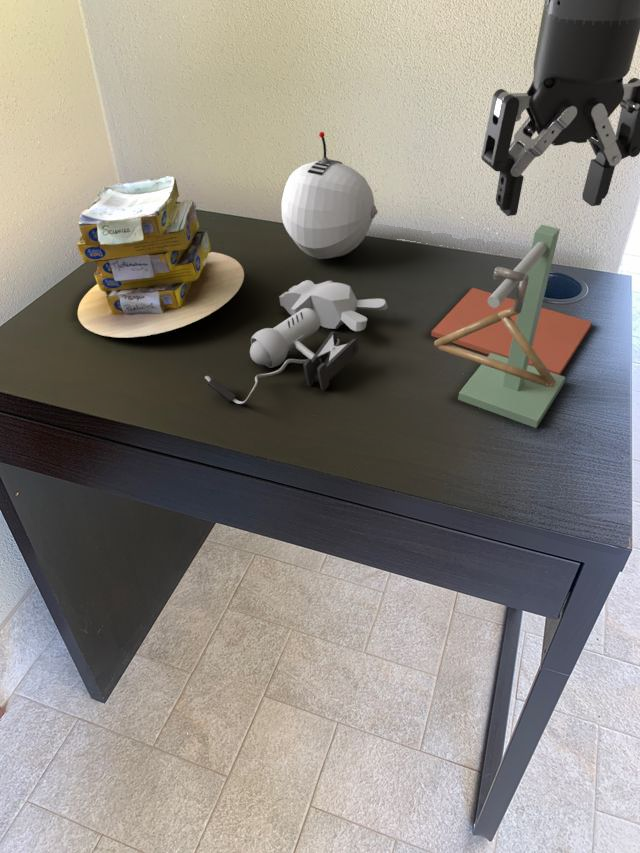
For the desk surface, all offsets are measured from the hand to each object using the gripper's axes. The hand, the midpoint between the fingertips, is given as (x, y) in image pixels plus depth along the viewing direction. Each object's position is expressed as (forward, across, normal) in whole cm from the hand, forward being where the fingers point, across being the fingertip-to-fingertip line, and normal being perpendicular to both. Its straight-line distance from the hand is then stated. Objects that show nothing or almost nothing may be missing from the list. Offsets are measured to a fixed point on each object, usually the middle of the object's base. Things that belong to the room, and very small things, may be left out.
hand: (549, 207), depth 64 cm
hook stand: (+26, 0, +2) cm, 26 cm away
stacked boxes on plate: (+26, -37, +38) cm, 59 cm away
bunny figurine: (+27, -14, +27) cm, 40 cm away
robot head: (+27, -9, +46) cm, 54 cm away
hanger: (+16, -4, -2) cm, 17 cm away
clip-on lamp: (+27, -24, +15) cm, 39 cm away
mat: (+26, +10, +17) cm, 33 cm away
